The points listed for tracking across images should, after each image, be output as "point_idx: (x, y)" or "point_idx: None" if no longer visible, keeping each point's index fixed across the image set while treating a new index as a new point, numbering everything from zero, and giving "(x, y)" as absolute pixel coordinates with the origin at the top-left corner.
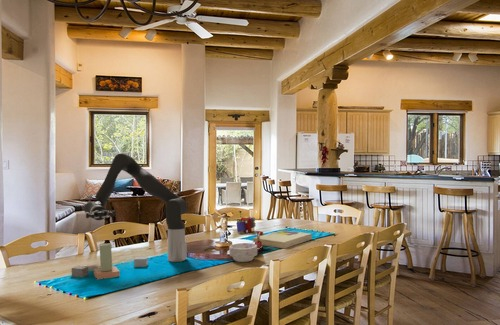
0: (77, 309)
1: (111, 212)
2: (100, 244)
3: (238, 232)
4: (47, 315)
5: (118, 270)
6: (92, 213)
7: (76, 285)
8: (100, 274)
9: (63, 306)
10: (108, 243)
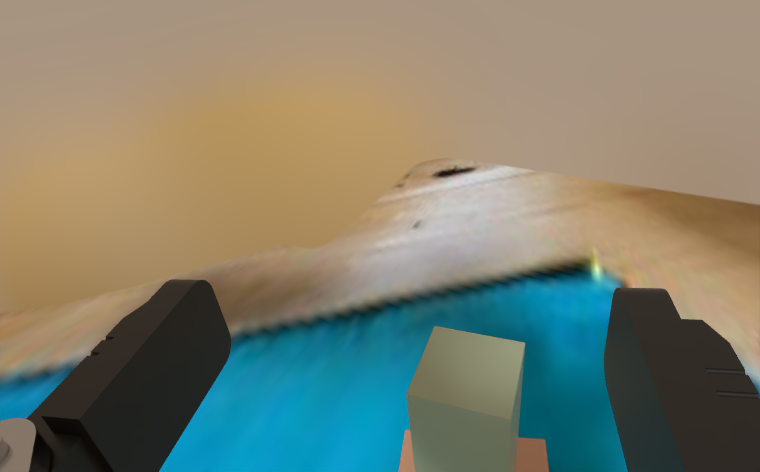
0: (611, 216)
1: (142, 315)
2: (509, 395)
3: None
4: (692, 209)
5: (404, 447)
6: (721, 447)
7: None
8: (522, 441)
9: (660, 239)
10: (434, 385)
